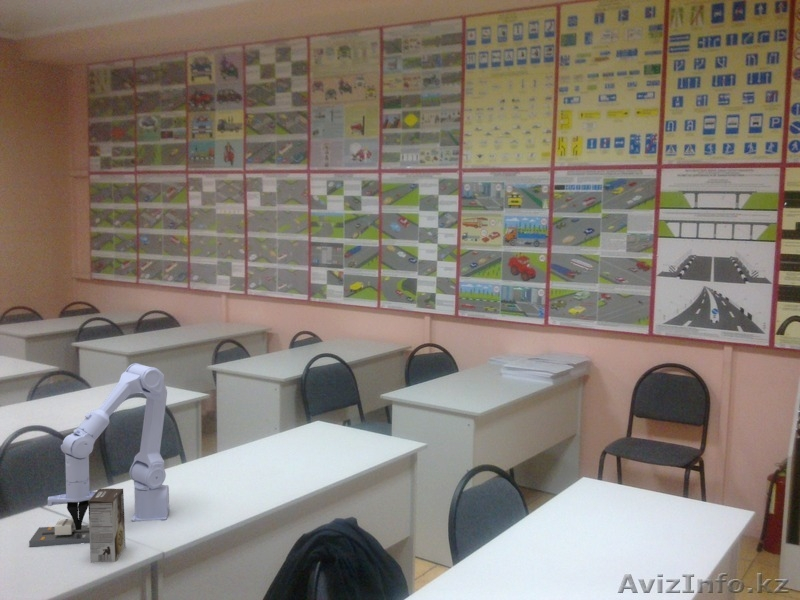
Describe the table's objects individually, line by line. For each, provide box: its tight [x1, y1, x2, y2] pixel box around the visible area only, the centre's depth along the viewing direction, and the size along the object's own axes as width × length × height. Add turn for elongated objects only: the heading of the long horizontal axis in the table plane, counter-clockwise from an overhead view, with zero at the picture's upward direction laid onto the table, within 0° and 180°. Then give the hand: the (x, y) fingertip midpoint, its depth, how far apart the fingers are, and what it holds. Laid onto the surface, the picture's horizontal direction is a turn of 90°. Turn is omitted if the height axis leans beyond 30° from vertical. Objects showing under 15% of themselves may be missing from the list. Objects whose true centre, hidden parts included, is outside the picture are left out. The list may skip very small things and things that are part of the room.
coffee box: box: [88, 488, 126, 564], centre depth 191 cm, size 9×6×16 cm
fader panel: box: [28, 524, 90, 548], centre depth 201 cm, size 16×9×2 cm, turn 100°
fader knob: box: [54, 518, 75, 535], centre depth 201 cm, size 4×5×2 cm
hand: (78, 528), depth 202 cm, fingers closed
